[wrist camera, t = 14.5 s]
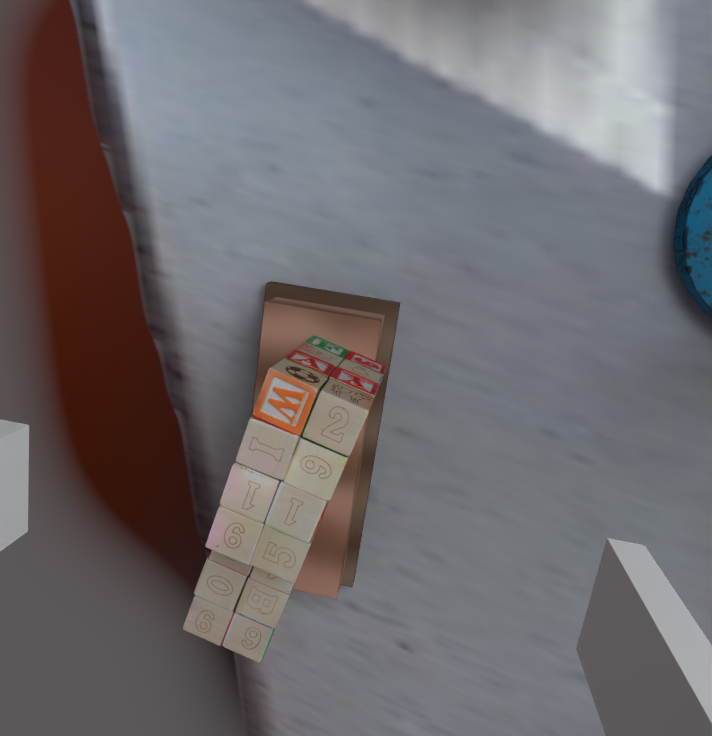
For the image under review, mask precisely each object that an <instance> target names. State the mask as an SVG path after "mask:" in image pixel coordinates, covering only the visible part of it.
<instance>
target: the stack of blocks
mask: <svg viewBox="0 0 712 736" xmlns="http://www.w3.org/2000/svg"><path fill="white" fill-rule="evenodd" d="M385 370H386V366H385V365H383V364H381V363H379V362H377V361H374V360H372V359H369V358H367V357H365V356H363V355H360V354H358V353H355V352H353V351H349V350H347V349H345V348H342V347H340V346H338V345H335V344H333V343H331V342H329V341H326V340H324V339H322V338H319V337H317V336H312V337H311V338H309V339H307V340H306V341H305V342H304V344H302V345H301V346H300V347H298V348H297V349H296V350H293V351H291V352H290V353H289V354H287V355H286V356H285V357H284V358H283V359H282V360H281V361H279V362H278V363H276V364H275V365H273V366H272V367H270V368H269V370H268V372H267V375H266V378H265V381H264V383H263V386H262V389H261V392H260V395H259V397H258V400H257V403H256V405H255V408H254V411H253V416H252V417H251V418H250V419H249V422H248V425H247V427H246V430H245V433H244V436H243V439H242V442H241V445H240V448H239V451H238V454H237V457H236V461H235V462H234V463H233V465H232V467H231V470H230V473H229V476H228V479H227V482H226V485H225V488H224V491H223V493H222V496H221V499H220V506H219V508H218V510H217V513H216V515H215V518H214V521H213V524H212V527H211V530H210V533H209V536H208V539H207V542H206V544H205V547H207V548H209V549H212V550H211V552H210V555H209V556H208V557H207V559H206V562H205V564H204V567H203V569H202V572H201V574H200V577H199V580H198V583H197V585H196V588H195V591H194V594H195V596H194V599H193V601H192V604H191V607H190V609H189V612H188V614H187V617H186V620H185V622H184V625H183V629H184V630H186V631H188V632H190V633H192V634H194V635H197V636H199V637H201V638H203V639H206V640H208V641H210V642H212V643H214V644H216V645H222V646H224V647H225V648H228V649H230V650H232V651H234V652H236V653H238V654H241V655H243V656H245V657H247V658H250V659H252V660H254V661H257V662H259V663H260V662H261V661H262V659H263V656H264V654H265V652H266V649H267V647H268V644H269V642H270V640H271V637H272V635H273V632H274V629H275V628H276V626H277V624H278V622H279V619H280V617H281V615H282V612H283V610H284V607H285V605H286V603H287V600H288V598H289V596H290V593H291V591H292V588H293V586H294V584H295V582H296V580H297V577H298V575H299V572H300V570H301V568H302V565H303V563H304V560H305V558H306V556H307V553H308V551H309V548H310V546H311V543H312V541H313V538H314V536H315V533H316V531H317V529H318V526H319V524H320V522H321V519H322V517H323V514H324V512H325V510H326V507H327V505H328V502H329V500H331V498H332V495H333V493H334V491H335V488H336V486H337V484H338V481H339V479H340V477H341V474H342V472H343V470H344V467H345V465H346V463H347V461H348V458H349V456H350V454H351V452H352V450H353V448H354V446H355V443H356V441H357V439H358V437H359V434H360V432H361V430H362V428H363V425H364V423H365V421H366V418H367V416H368V414H369V411H370V409H371V406H372V403H373V400H374V398H375V396H376V393H377V391H378V388H379V385H380V383H381V381H382V378H383V376H384V373H385Z"/></svg>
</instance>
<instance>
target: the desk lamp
mask: <svg viewBox="0 0 712 736" xmlns="http://www.w3.org/2000/svg"><path fill="white" fill-rule="evenodd" d="M674 248H675V256H676V265H677V269H678V271H679V273H680V276H681V278H682V280H683V283H684V285H685V287H686V290H687V292H688V293H689V294H690V295H691V296H692V297H693V299H694V300H695V301H696V302H697V303H698V305H699V306H700V307H701V308H702V309H703V310H704V312H706V313H707V314H709V315H711V316H712V156H711V157H710V158H709V159H708V160H707V162H706V163H705V164H704V166H703V167H702V168H701V170H700V171H699V172H698V174H697V175H696V176H695V178H694V179H693V180H692V181H691V183H690V185H689V187H688V189H687V192H686V194H685V196H684V199H683V201H682V203H681V205H680V208H679V210H678V214H677V221H676V227H675V233H674Z"/></svg>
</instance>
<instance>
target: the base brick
mask: <svg viewBox="0 0 712 736" xmlns="http://www.w3.org/2000/svg"><path fill="white" fill-rule="evenodd" d="M399 307H400V302H394V301H388V300H382V299H376V298H370V297H363V296H357V295H351V294H345V293H339V292H333V291H327V290H321V289H315V288H308V287H302V286H296V285H290V284H284V283H278V282H272V281H271V282H268V283H266V291H265V300H264V309H263V318H262V327H261V336H260V345H259V355H258V364H257V373H256V382H255V391H254V400H253V409H252V416H253V411H254V408H255V405H256V403H257V400H258V397H259V395H260V392H261V389H262V386H263V383H264V381H265V378H266V375H267V372H268V370H269V368H270V367H272V366H273V365H275V364H276V363H278V362H279V361H281V360H282V359H283V358H284V357H285V356H286V355H287V354H289V353H290V352H291V351H293V350H296V349H297V348H298V347H300V346H301V345H302V344H304V342H305V341H306V340H307V339H309V338H311V337H312V336H317V337H319V338H322V339H324V340H326V341H329V342H331V343H333V344H335V345H338V346H340V347H342V348H345V349H347V350H349V351H353V352H355V353H358V354H360V355H363V356H365V357H367V358H369V359H372V360H374V361H377V362H379V363H381V364H383V365H385V366H386V370H385V373H384V376H383V378H382V381H381V383H380V385H379V388H378V391H377V393H376V396H375V398H374V400H373V403H372V406H371V409H370V411H369V414H368V416H367V418H366V421H365V423H364V425H363V428H362V430H361V432H360V434H359V437H358V439H357V441H356V443H355V446H354V448H353V450H352V452H351V454H350V456H349V458H348V461H347V463H346V465H345V467H344V470H343V472H342V474H341V477H340V479H339V481H338V484H337V486H336V488H335V491H334V493H333V495H332V498H331V500H329V502H328V505H327V507H326V510H325V512H324V514H323V517H322V519H321V522H320V524H319V526H318V529H317V531H316V533H315V536H314V538H313V541H312V543H311V546H310V548H309V551H308V553H307V556H306V558H305V560H304V563H303V565H302V568H301V570H300V572H299V575H298V577H297V580H296V582H295V584H294V586H293V588H292V589H293V590H298V591H303V592H308V593H312V594H317V595H322V596H326V597H331V598H336V599H337V596H338V592H339V589H340V585H344V586H348V587H353V582H354V578H355V572H356V566H357V560H358V554H359V548H360V542H361V536H362V530H363V524H364V518H365V512H366V506H367V500H368V494H369V488H370V482H371V476H372V470H373V464H374V458H375V452H376V446H377V440H378V434H379V428H380V422H381V416H382V410H383V404H384V398H385V392H386V386H387V380H388V374H389V367H390V361H391V355H392V349H393V343H394V337H395V331H396V325H397V319H398V313H399Z"/></svg>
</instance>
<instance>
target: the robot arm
mask: <svg viewBox="0 0 712 736" xmlns="http://www.w3.org/2000/svg"><path fill="white" fill-rule="evenodd" d="M28 467H29V425H26V424H21V423H15V422H10V421H5V420H0V551H1V550H3V549H4V548H5V547H7V546H8V545H10V544H11V543H12V542H14V541H15V540H16V539H18V538H19V537H21V536H22V535H23V534H25V533H26V532H27V531H28V472H29V470H28ZM576 649H577V652H578V655H579V658H580V661H581V664H582V667H583V670H584V673H585V676H586V679H587V682H588V684H589V687H590V690H591V693H592V696H593V699H594V702H595V705H596V708H597V711H598V714H599V717H600V720H601V723H602V726H603V729H604V732H605V735H606V736H712V645H711V644H710V642H709V641H708V639H707V638H706V636H705V635H704V633H703V632H702V630H701V629H700V627H699V626H698V624H697V623H696V621H695V620H694V618H693V617H692V615H691V614H690V612H689V611H688V609H687V608H686V606H685V605H684V603H683V602H682V601H681V599H680V598H679V596H678V595H677V593H676V592H675V590H674V589H673V587H672V586H671V584H670V583H669V581H668V580H667V578H666V577H665V575H664V574H663V572H662V571H661V569H660V568H659V566H658V565H657V563H656V562H655V560H654V559H653V557H652V556H651V554H650V553H649V551H648V550H647V548H646V547H645V545H640V544H635V543H630V542H625V541H620V540H615V539H609V538H607V540H606V544H605V548H604V551H603V555H602V558H601V562H600V566H599V569H598V573H597V576H596V580H595V583H594V587H593V591H592V594H591V598H590V601H589V605H588V609H587V612H586V616H585V619H584V623H583V626H582V630H581V634H580V637H579V641H578V644H577V648H576Z"/></svg>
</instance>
